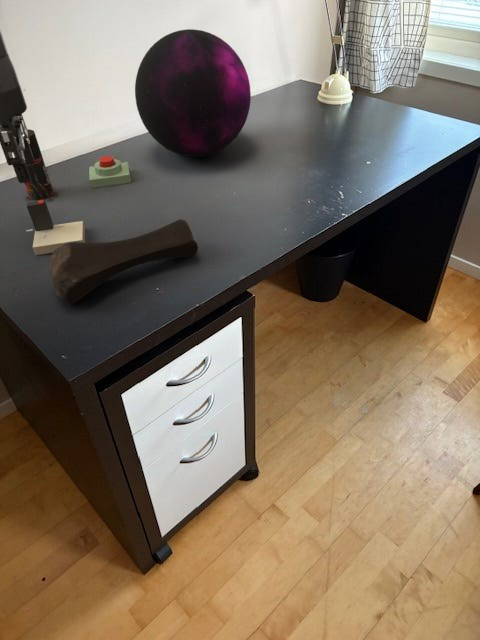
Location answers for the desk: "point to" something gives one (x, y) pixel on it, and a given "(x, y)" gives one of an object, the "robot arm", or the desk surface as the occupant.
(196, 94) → the mottled black-purple ball
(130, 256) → the dark brown bone
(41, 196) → the deodorant
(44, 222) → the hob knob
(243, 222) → the desk surface
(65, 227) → the cream flat slab
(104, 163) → the red push button
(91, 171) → the box
